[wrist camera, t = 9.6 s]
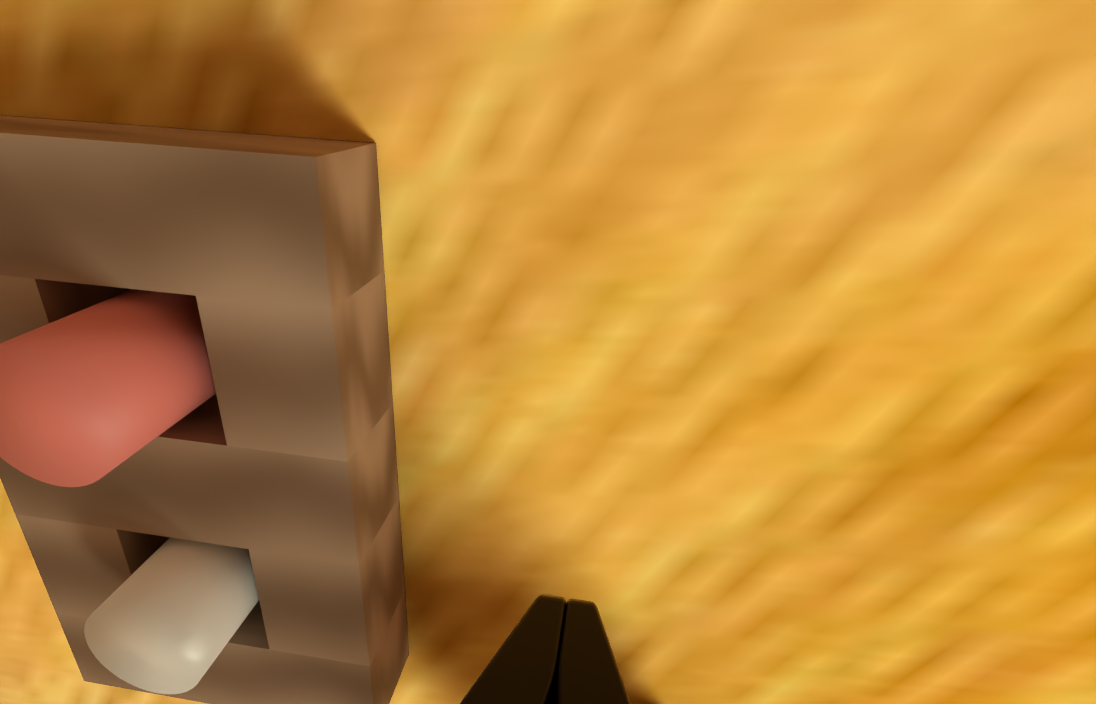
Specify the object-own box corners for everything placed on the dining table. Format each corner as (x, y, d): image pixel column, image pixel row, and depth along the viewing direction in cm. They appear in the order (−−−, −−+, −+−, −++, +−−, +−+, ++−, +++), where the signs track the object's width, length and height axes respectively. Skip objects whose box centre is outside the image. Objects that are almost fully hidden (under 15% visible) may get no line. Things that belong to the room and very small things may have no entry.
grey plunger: (297, 579, 27) (212, 703, 22) (208, 565, 27) (103, 683, 22) (284, 502, 25) (188, 617, 20) (189, 489, 26) (69, 597, 20)
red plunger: (254, 395, 22) (130, 496, 17) (147, 382, 23) (-8, 476, 17) (234, 284, 20) (88, 357, 15) (117, 271, 21) (-66, 338, 15)
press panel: (409, 653, 29) (376, 733, 26) (149, 610, 31) (84, 681, 27) (375, 142, 19) (315, 157, 16) (-10, 114, 21) (-147, 121, 17)
